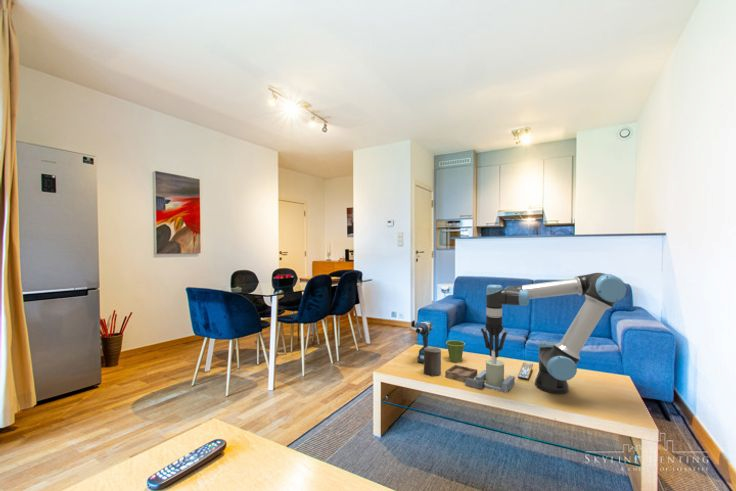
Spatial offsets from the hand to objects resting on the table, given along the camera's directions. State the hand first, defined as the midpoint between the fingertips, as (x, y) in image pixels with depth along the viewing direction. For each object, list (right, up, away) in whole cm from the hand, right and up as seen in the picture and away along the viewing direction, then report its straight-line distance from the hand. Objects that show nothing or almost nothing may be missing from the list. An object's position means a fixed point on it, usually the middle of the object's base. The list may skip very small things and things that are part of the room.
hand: (494, 363), depth 169 cm
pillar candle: (-26, -15, +25) cm, 39 cm away
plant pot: (-7, -15, +46) cm, 49 cm away
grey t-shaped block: (-8, -14, +6) cm, 17 cm away
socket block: (+4, -14, +10) cm, 18 cm away
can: (+4, -15, +10) cm, 18 cm away
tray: (-11, -14, +20) cm, 27 cm away
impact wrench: (-28, -15, +43) cm, 53 cm away
